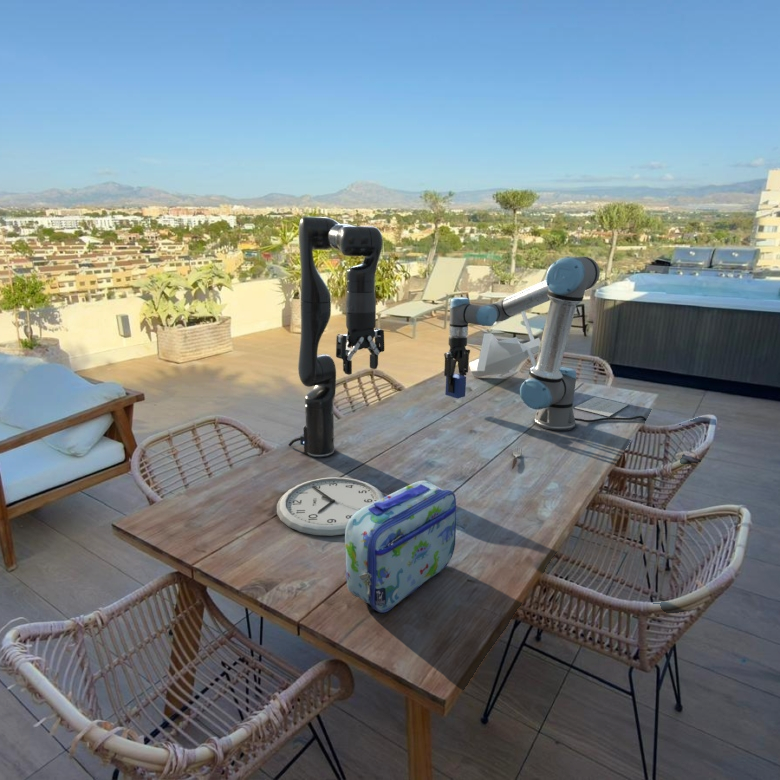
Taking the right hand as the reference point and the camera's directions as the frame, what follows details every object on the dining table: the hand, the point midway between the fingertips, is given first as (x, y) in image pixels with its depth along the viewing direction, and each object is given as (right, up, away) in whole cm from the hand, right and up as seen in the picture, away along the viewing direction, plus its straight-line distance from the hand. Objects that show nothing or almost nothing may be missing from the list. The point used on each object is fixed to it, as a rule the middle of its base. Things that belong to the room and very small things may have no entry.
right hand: (455, 390), depth 219 cm
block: (0, -2, +1) cm, 2 cm away
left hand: (-35, +5, -83) cm, 90 cm away
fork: (+14, -23, -47) cm, 54 cm away
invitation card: (+64, -7, +7) cm, 65 cm away
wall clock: (-43, -31, -76) cm, 93 cm away
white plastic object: (+31, +3, +39) cm, 50 cm away
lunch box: (-25, -41, -107) cm, 117 cm away
